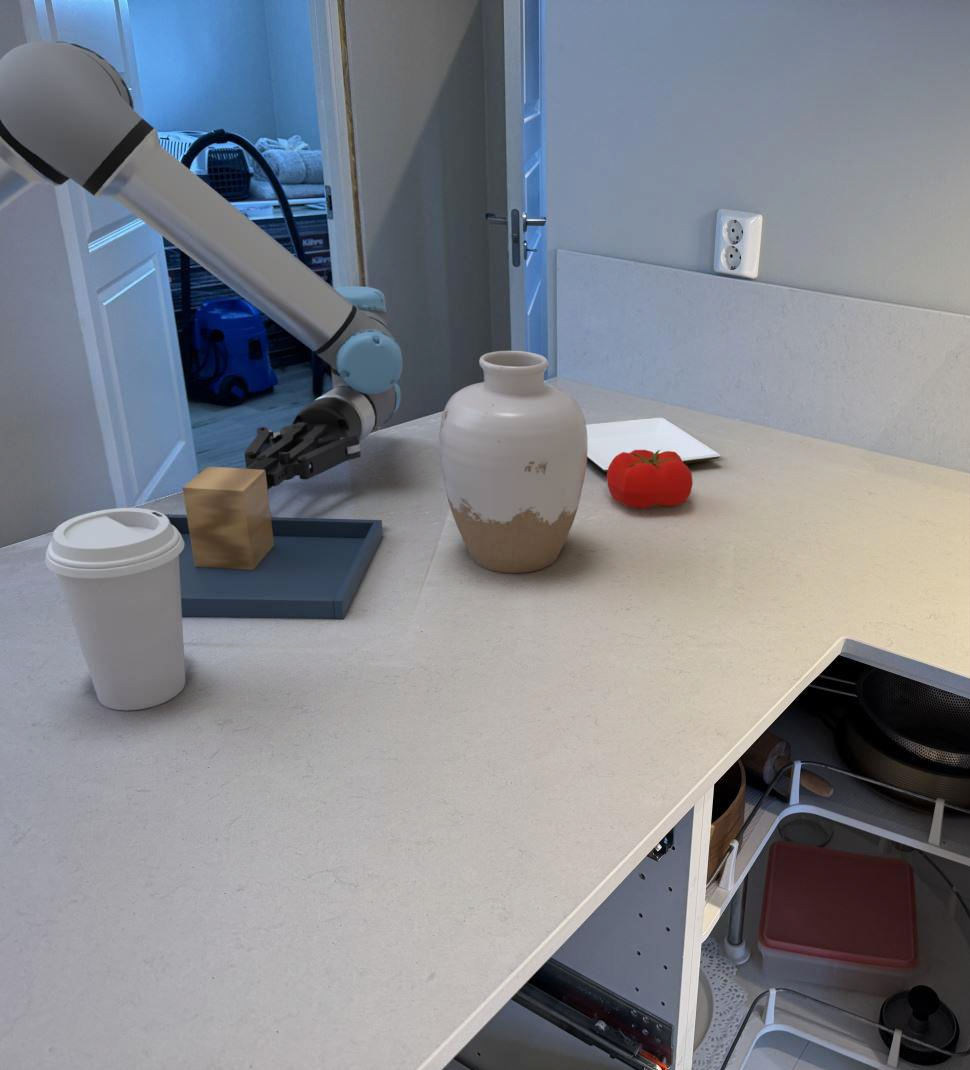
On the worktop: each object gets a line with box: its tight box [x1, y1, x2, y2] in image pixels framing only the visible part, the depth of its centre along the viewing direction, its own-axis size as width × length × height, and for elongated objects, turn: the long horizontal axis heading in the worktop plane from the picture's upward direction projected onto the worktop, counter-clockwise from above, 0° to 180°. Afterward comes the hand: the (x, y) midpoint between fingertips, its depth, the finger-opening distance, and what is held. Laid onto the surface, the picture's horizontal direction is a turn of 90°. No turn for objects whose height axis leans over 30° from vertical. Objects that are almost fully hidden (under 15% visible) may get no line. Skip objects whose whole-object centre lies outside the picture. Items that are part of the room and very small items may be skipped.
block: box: [182, 466, 274, 570], centre depth 104 cm, size 6×6×9 cm
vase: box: [438, 350, 588, 574], centre depth 108 cm, size 16×16×23 cm
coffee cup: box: [44, 507, 186, 711], centre depth 81 cm, size 10×10×15 cm
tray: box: [163, 513, 384, 620], centre depth 103 cm, size 24×20×2 cm
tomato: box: [606, 450, 694, 510], centre depth 129 cm, size 10×11×6 cm
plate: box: [586, 417, 721, 473], centre depth 147 cm, size 19×19×2 cm
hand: (244, 489), depth 107 cm, fingers closed
